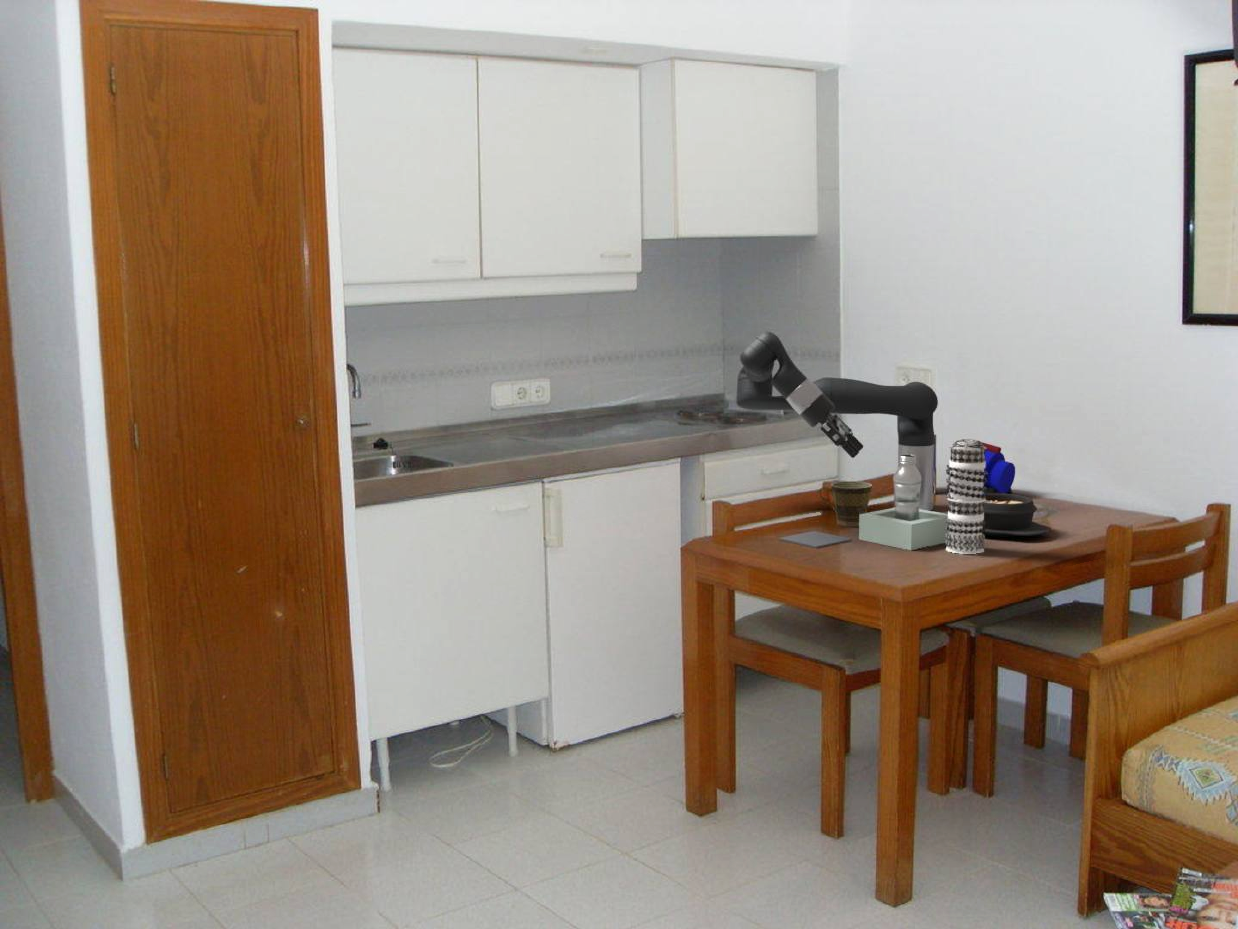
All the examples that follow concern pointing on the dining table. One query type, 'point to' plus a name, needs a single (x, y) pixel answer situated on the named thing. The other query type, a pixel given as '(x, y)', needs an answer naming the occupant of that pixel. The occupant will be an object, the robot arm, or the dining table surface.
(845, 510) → the ceramic cup
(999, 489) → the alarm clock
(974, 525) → the black and white cylinder
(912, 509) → the plastic bottle
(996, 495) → the casserole
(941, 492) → the dining table surface
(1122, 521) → the dining table surface
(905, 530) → the holder block
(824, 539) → the rubber mat
